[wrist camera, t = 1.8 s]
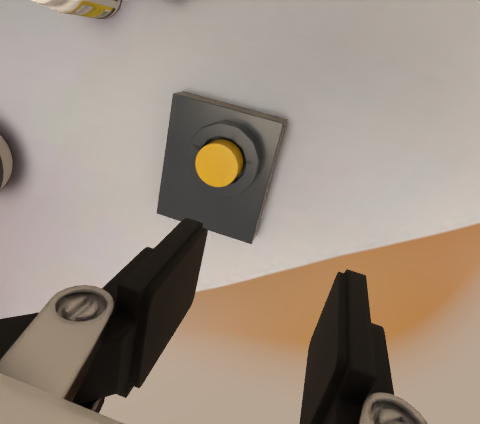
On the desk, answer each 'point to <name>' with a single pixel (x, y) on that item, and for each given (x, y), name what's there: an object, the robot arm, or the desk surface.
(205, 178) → the button
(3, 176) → the pump dispenser
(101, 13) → the supplement bottle
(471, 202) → the desk surface
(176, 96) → the console
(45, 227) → the desk surface
